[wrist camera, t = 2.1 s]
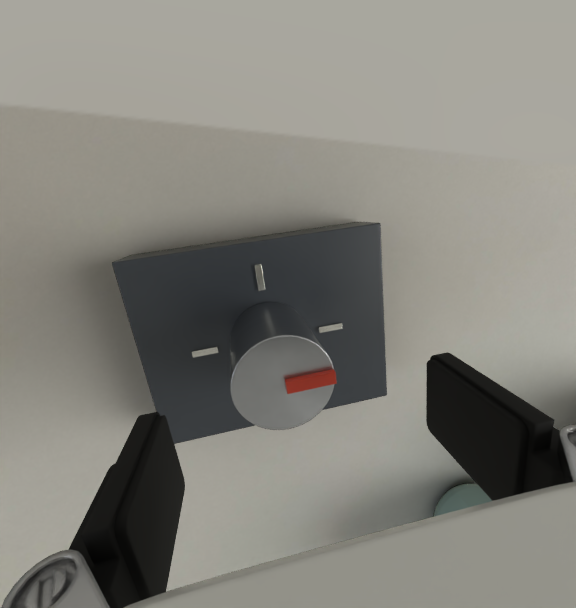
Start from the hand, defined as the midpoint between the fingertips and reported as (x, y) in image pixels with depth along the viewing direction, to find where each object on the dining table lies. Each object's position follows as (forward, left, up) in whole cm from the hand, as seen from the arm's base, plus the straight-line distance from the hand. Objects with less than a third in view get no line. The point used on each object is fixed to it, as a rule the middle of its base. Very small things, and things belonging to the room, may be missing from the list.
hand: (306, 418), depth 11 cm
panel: (0, 0, -10) cm, 10 cm away
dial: (0, 0, -7) cm, 7 cm away
